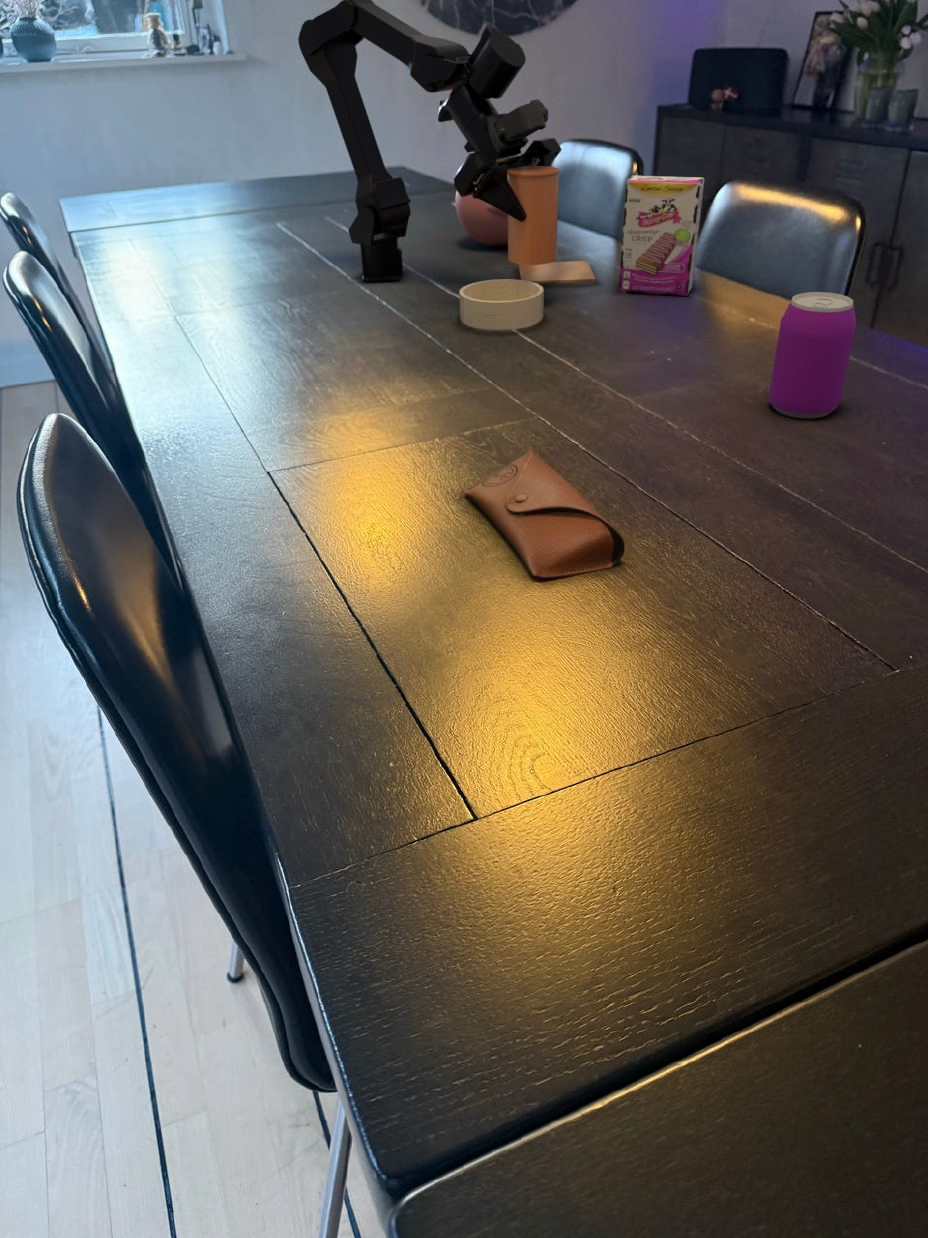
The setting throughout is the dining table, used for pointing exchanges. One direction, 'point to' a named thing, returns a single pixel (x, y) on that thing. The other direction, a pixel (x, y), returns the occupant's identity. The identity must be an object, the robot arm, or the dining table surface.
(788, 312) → the beverage can
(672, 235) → the candy bar box
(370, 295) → the dining table surface
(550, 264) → the plate
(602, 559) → the sunglasses case
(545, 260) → the orange lidded canister
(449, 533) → the dining table surface
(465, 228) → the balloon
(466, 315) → the cream round container
